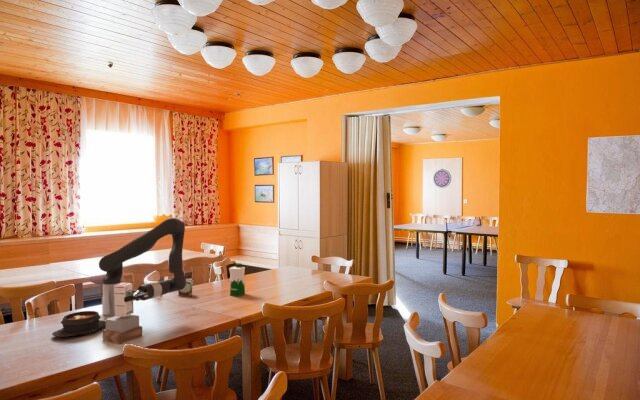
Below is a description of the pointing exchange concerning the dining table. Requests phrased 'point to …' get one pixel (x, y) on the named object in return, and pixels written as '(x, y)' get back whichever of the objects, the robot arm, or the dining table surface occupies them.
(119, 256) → the robot arm
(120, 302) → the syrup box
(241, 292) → the milk carton
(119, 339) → the walnut base block
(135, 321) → the white square block
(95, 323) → the casserole
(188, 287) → the food container
